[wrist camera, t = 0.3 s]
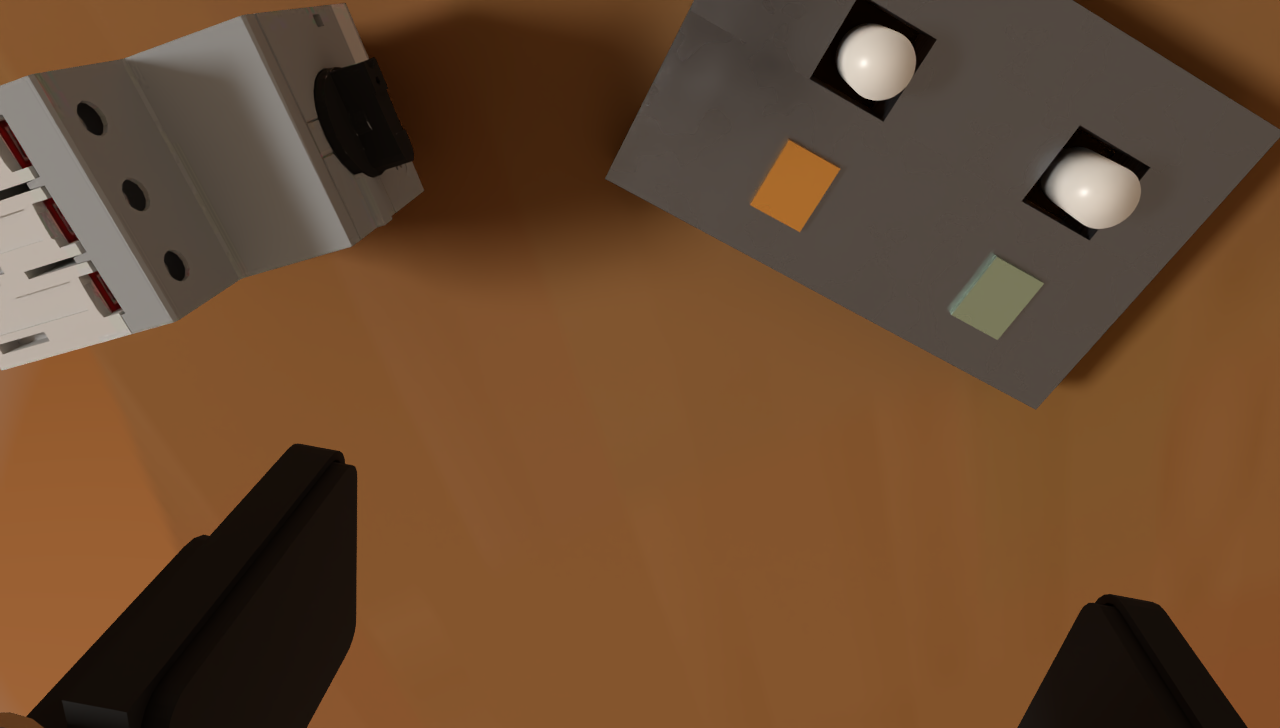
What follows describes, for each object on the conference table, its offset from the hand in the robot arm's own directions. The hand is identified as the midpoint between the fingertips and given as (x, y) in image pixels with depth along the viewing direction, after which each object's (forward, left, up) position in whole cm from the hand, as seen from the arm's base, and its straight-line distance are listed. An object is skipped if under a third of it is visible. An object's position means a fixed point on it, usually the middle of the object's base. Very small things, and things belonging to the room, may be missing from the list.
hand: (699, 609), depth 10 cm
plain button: (-6, +13, -27) cm, 31 cm away
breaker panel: (-4, +7, -28) cm, 30 cm away
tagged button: (-6, +3, -27) cm, 28 cm away
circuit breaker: (+8, -17, -29) cm, 34 cm away
